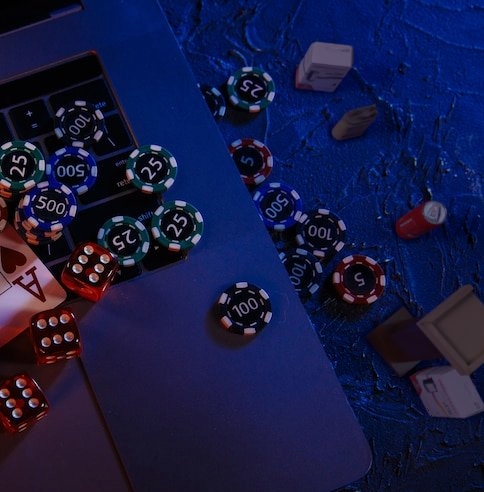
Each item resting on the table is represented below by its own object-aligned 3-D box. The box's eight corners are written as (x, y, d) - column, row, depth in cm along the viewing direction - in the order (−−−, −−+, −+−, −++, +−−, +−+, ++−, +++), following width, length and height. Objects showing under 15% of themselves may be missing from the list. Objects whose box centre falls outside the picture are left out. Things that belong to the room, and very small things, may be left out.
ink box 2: (407, 375, 122) (437, 373, 110) (430, 365, 122) (462, 362, 111) (429, 417, 120) (462, 420, 109) (452, 407, 120) (487, 409, 109)
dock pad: (462, 286, 103) (470, 283, 101) (507, 336, 101) (516, 335, 99) (415, 323, 102) (422, 321, 99) (460, 375, 100) (468, 375, 97)
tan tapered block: (334, 142, 134) (351, 122, 124) (328, 126, 134) (345, 105, 125) (365, 134, 134) (385, 113, 124) (359, 118, 135) (378, 97, 125)
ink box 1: (294, 90, 137) (311, 61, 125) (295, 69, 138) (312, 39, 126) (334, 94, 136) (354, 66, 125) (334, 73, 137) (354, 44, 126)
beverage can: (390, 234, 129) (417, 218, 117) (398, 213, 130) (426, 195, 118) (413, 245, 128) (443, 229, 116) (421, 223, 129) (452, 206, 118)
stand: (401, 307, 125) (462, 288, 103) (435, 347, 123) (505, 336, 101) (364, 336, 124) (417, 323, 102) (398, 377, 122) (460, 373, 100)
